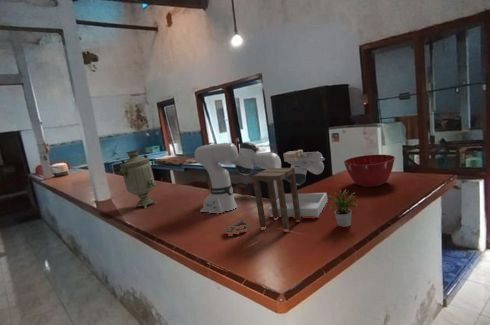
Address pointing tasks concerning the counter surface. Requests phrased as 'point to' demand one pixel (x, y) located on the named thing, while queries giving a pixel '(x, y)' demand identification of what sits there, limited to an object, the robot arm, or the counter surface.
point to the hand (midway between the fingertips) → (297, 152)
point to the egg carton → (237, 225)
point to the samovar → (138, 177)
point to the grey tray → (304, 204)
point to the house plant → (343, 208)
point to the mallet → (292, 156)
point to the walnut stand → (278, 175)
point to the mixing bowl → (370, 169)
